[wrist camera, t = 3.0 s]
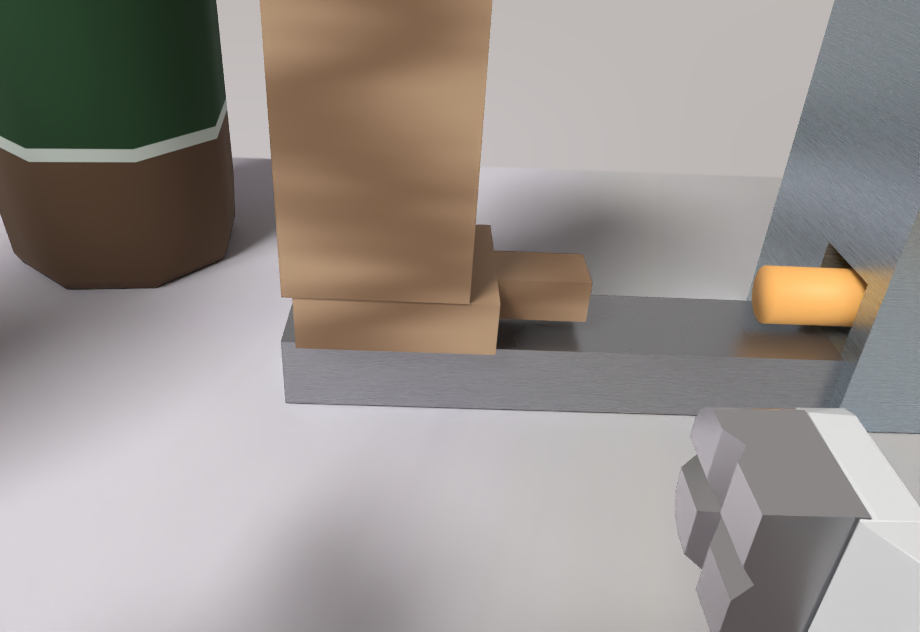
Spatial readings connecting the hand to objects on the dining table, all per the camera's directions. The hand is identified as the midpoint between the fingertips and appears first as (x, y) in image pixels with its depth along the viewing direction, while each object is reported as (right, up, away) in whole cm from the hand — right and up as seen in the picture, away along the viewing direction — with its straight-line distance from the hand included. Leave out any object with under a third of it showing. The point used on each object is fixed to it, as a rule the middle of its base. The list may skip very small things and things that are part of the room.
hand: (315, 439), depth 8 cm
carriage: (+1, +2, +13) cm, 13 cm away
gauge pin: (+12, +1, +14) cm, 19 cm away
